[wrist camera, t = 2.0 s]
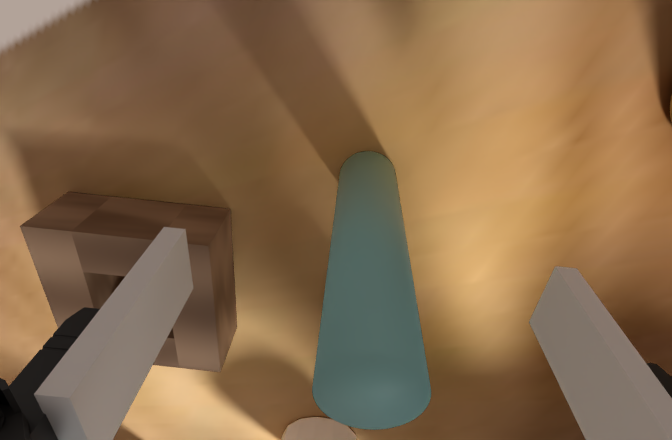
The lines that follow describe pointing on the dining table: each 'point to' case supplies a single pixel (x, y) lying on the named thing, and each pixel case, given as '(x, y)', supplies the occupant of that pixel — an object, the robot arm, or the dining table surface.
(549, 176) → the dining table surface
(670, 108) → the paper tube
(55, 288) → the hole block
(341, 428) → the white cup
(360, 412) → the long pin
